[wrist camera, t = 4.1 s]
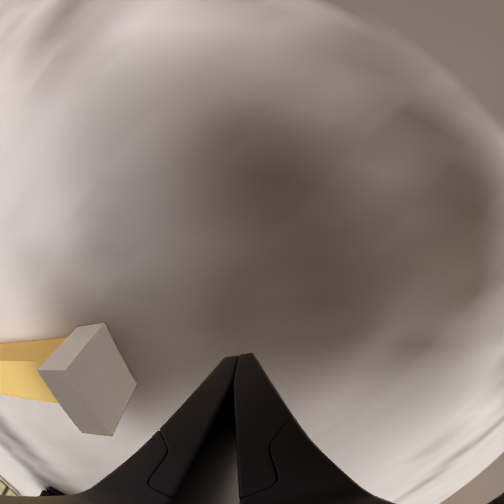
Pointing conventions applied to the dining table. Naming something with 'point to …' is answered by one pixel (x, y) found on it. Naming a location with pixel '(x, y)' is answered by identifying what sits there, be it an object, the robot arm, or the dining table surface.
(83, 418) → the yellow handled hammer
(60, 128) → the dining table surface
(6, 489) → the coffee can
